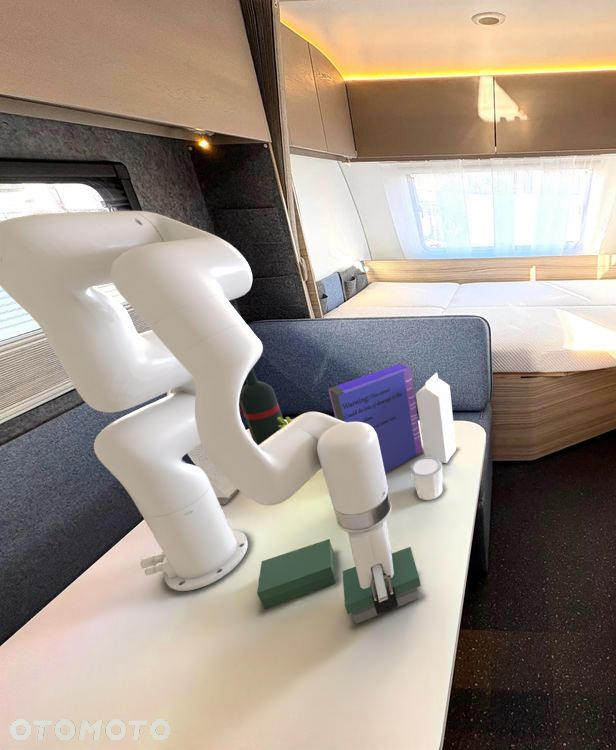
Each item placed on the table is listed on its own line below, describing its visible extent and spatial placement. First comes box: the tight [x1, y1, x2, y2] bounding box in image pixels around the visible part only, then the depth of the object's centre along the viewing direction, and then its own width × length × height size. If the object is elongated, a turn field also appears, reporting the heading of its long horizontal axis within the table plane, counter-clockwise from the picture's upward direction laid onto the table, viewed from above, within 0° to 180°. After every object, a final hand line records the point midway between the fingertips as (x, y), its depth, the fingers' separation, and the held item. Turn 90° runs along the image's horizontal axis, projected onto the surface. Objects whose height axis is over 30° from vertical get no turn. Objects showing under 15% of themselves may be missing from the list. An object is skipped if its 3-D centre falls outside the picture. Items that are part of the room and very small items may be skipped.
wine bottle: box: [239, 366, 284, 445], centre depth 96 cm, size 8×10×30 cm
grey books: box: [352, 587, 420, 625], centre depth 63 cm, size 10×4×4 cm, turn 114°
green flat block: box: [342, 546, 421, 616], centre depth 61 cm, size 11×6×2 cm, turn 114°
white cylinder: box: [409, 456, 443, 501], centre depth 85 cm, size 7×7×7 cm
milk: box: [415, 372, 457, 464], centre depth 94 cm, size 6×6×22 cm
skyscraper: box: [166, 390, 239, 506], centre depth 83 cm, size 8×8×28 cm
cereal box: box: [327, 363, 424, 474], centre depth 90 cm, size 17×5×24 cm, turn 136°
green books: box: [256, 538, 337, 610], centre depth 66 cm, size 11×6×4 cm, turn 114°
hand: (383, 587), depth 62 cm, fingers open, 6 cm apart
